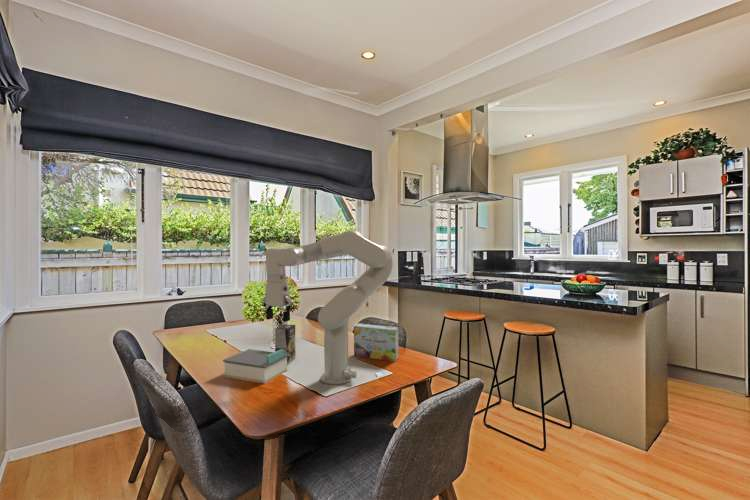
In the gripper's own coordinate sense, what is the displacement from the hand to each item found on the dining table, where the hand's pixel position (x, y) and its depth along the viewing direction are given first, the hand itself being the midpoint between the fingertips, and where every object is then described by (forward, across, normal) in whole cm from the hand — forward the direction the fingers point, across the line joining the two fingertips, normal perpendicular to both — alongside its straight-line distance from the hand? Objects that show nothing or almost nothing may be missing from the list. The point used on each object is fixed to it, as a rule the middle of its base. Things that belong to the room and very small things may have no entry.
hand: (278, 320), depth 155 cm
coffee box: (+23, +12, -14) cm, 30 cm away
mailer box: (+23, +10, +4) cm, 26 cm away
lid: (+17, +10, +4) cm, 20 cm away
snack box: (+25, -21, -41) cm, 52 cm away
